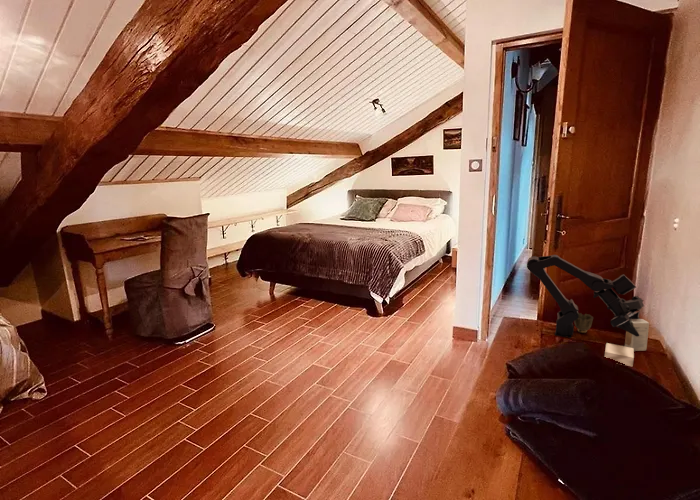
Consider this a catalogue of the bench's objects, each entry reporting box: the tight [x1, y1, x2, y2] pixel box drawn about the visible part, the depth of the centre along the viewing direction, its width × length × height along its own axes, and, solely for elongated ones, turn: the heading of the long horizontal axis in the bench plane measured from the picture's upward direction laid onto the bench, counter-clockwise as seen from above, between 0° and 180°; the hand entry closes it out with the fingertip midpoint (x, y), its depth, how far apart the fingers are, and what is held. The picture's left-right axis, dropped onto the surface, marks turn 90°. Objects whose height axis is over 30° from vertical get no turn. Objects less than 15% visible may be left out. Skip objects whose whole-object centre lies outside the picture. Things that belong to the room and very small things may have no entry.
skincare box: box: [624, 318, 650, 352], centre depth 159 cm, size 6×4×12 cm
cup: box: [573, 312, 594, 334], centre depth 176 cm, size 8×7×8 cm
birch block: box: [604, 342, 635, 368], centre depth 152 cm, size 9×9×4 cm
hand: (641, 333), depth 157 cm, fingers closed on skincare box, 7 cm apart
